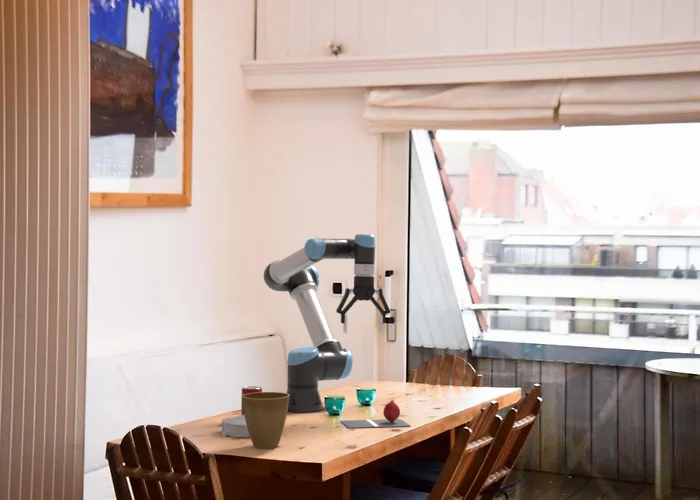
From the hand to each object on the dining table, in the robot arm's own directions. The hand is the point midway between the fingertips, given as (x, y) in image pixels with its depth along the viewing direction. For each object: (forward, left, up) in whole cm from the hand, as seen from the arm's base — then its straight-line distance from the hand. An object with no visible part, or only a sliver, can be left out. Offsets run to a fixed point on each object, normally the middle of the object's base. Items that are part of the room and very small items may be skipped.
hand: (362, 332), depth 374 cm
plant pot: (-43, -56, -31) cm, 77 cm away
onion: (+6, -22, -30) cm, 38 cm away
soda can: (-42, -9, -31) cm, 53 cm away
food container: (-46, -31, -31) cm, 63 cm away
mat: (0, -22, -30) cm, 38 cm away
